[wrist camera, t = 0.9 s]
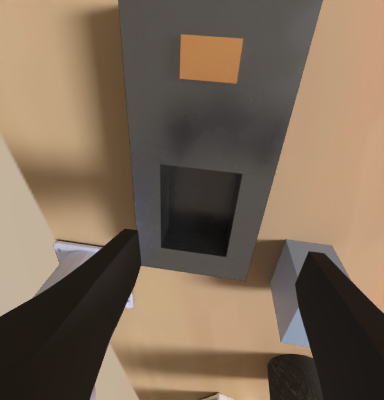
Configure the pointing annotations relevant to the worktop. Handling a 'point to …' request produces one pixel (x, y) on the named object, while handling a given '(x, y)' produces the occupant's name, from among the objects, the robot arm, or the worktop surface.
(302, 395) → the travel mug
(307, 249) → the plug
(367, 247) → the worktop surface
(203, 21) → the grey slotted block
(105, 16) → the worktop surface
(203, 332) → the worktop surface
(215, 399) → the syrup box
